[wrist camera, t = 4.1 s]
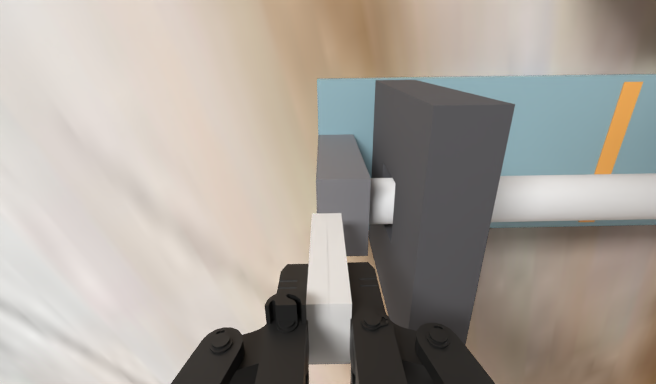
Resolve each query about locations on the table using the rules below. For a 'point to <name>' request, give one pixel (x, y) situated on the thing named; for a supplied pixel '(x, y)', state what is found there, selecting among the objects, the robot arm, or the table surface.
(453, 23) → the table surface
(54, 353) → the table surface
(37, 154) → the table surface
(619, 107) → the pipe stand
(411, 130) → the dark grey square plate
